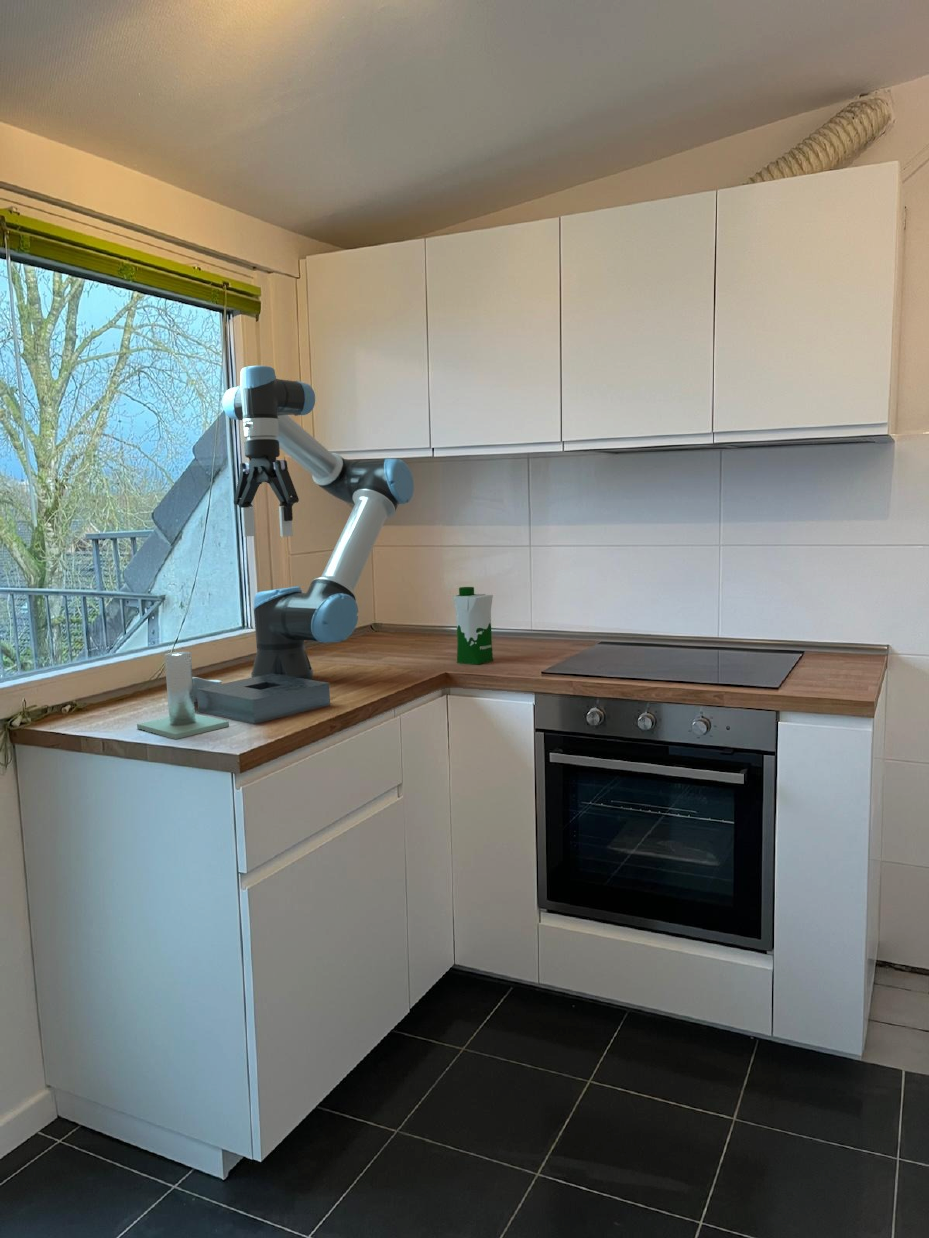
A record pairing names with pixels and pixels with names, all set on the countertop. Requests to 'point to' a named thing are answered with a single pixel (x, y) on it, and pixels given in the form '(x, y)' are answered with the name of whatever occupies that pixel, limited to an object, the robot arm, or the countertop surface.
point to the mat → (178, 732)
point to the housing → (263, 698)
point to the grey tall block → (180, 688)
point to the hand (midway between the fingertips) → (267, 536)
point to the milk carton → (473, 627)
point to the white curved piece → (202, 684)
